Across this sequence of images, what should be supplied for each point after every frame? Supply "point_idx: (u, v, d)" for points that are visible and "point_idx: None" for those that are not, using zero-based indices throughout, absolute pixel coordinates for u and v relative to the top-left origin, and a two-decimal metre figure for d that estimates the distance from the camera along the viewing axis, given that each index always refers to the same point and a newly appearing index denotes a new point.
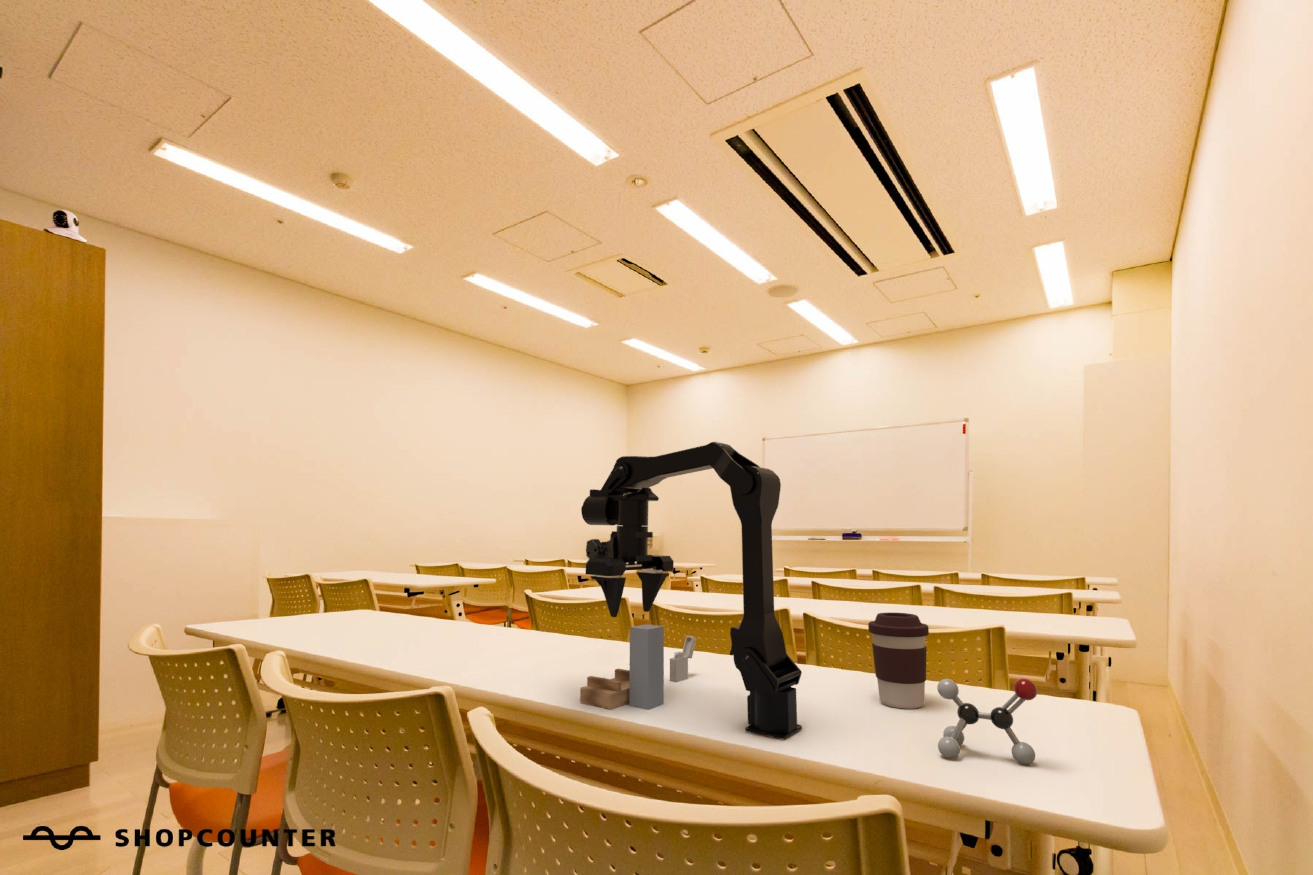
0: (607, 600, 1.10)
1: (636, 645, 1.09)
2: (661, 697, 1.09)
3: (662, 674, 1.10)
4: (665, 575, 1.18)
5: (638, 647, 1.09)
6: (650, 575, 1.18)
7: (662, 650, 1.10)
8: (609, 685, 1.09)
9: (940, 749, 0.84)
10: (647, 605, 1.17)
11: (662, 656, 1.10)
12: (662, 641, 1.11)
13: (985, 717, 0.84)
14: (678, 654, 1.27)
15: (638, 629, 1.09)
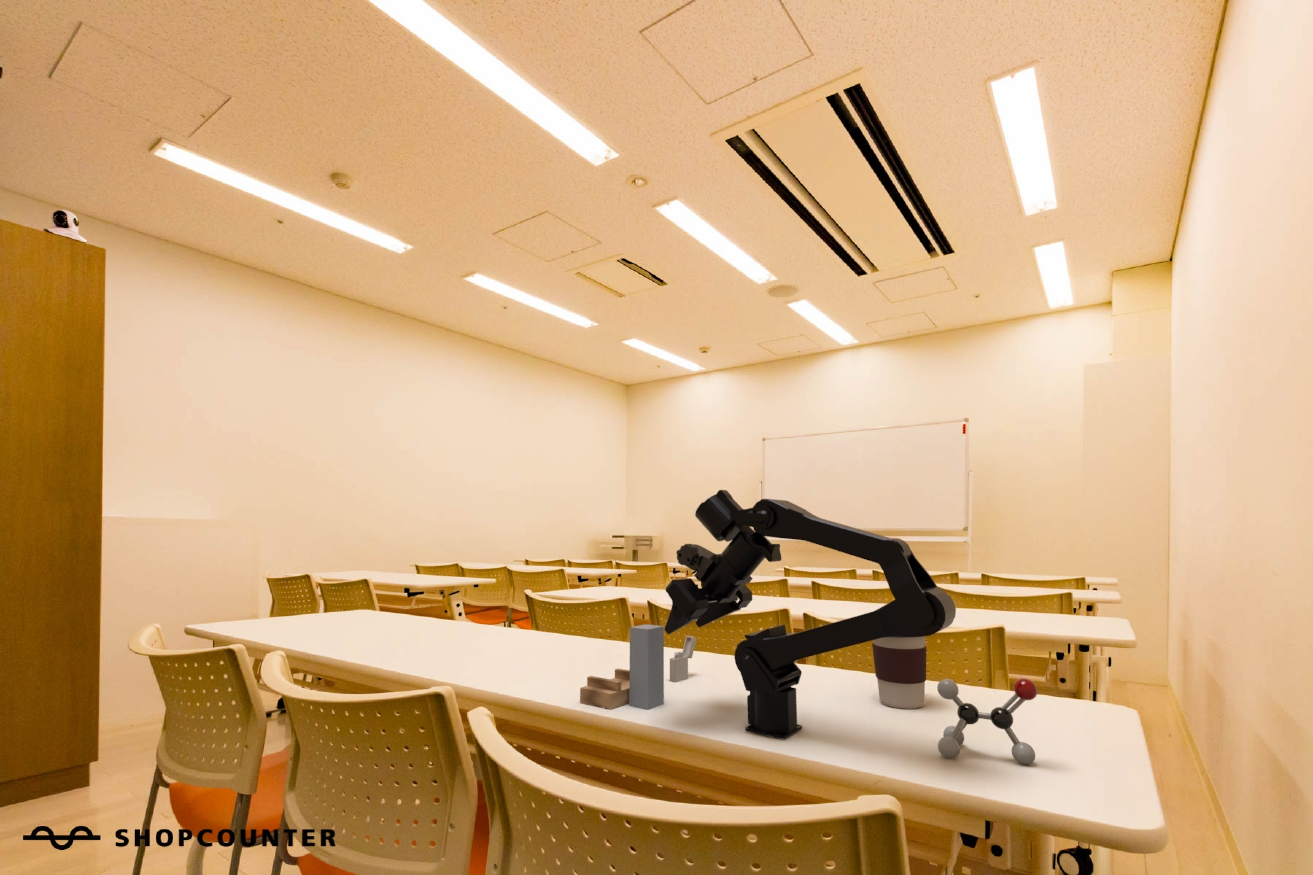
0: (670, 617, 1.01)
1: (636, 645, 1.09)
2: (661, 697, 1.09)
3: (662, 674, 1.10)
4: (736, 610, 1.08)
5: (638, 647, 1.09)
6: None
7: (662, 650, 1.11)
8: (609, 685, 1.09)
9: (940, 749, 0.84)
10: (702, 622, 1.09)
11: (662, 656, 1.10)
12: (662, 641, 1.11)
13: (985, 717, 0.84)
14: (678, 654, 1.27)
15: (638, 629, 1.09)
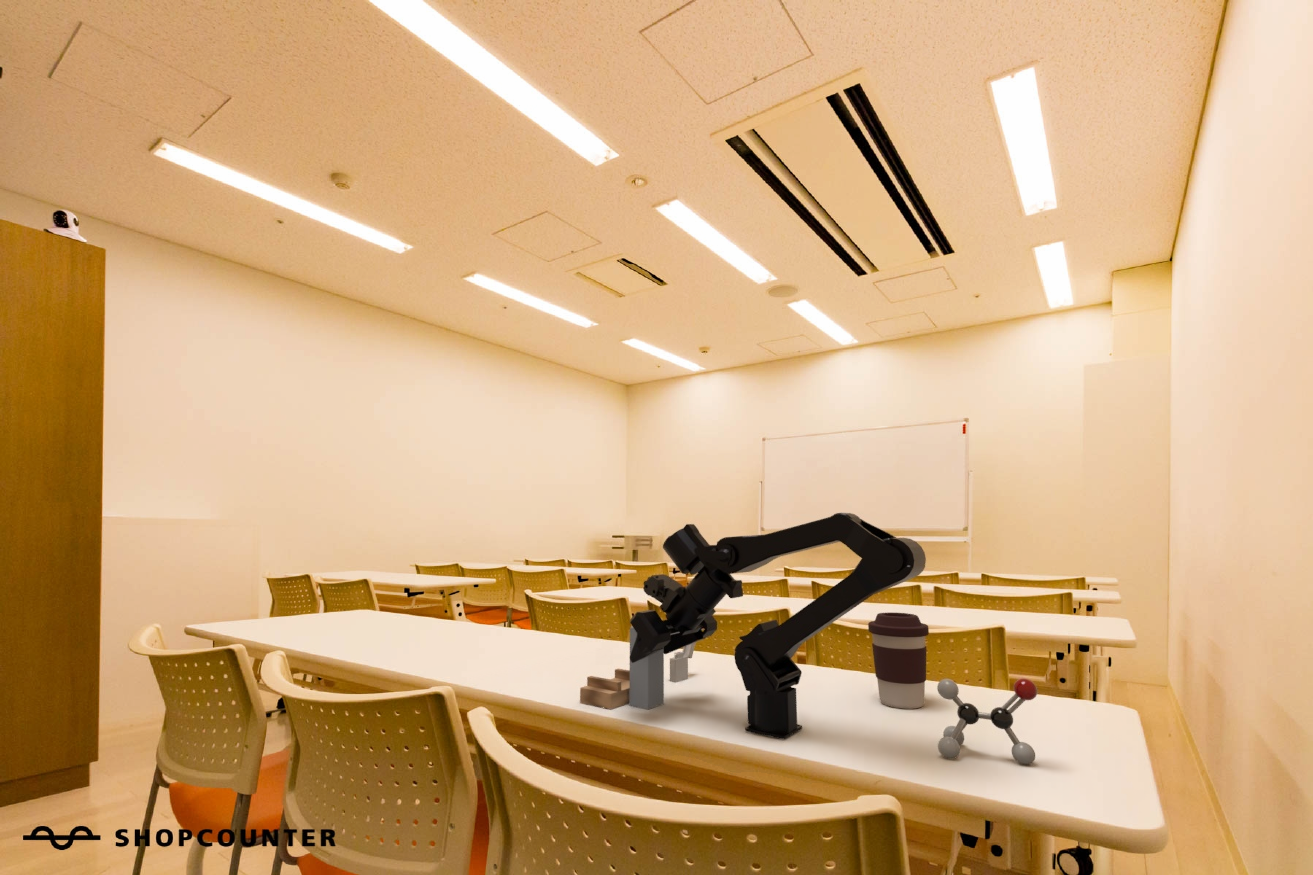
0: (634, 647, 1.05)
1: None
2: (661, 697, 1.09)
3: (662, 674, 1.10)
4: (700, 639, 1.11)
5: None
6: None
7: (662, 650, 1.11)
8: (609, 685, 1.09)
9: (940, 749, 0.84)
10: (668, 649, 1.13)
11: (662, 656, 1.10)
12: None
13: (985, 717, 0.84)
14: (678, 654, 1.27)
15: None
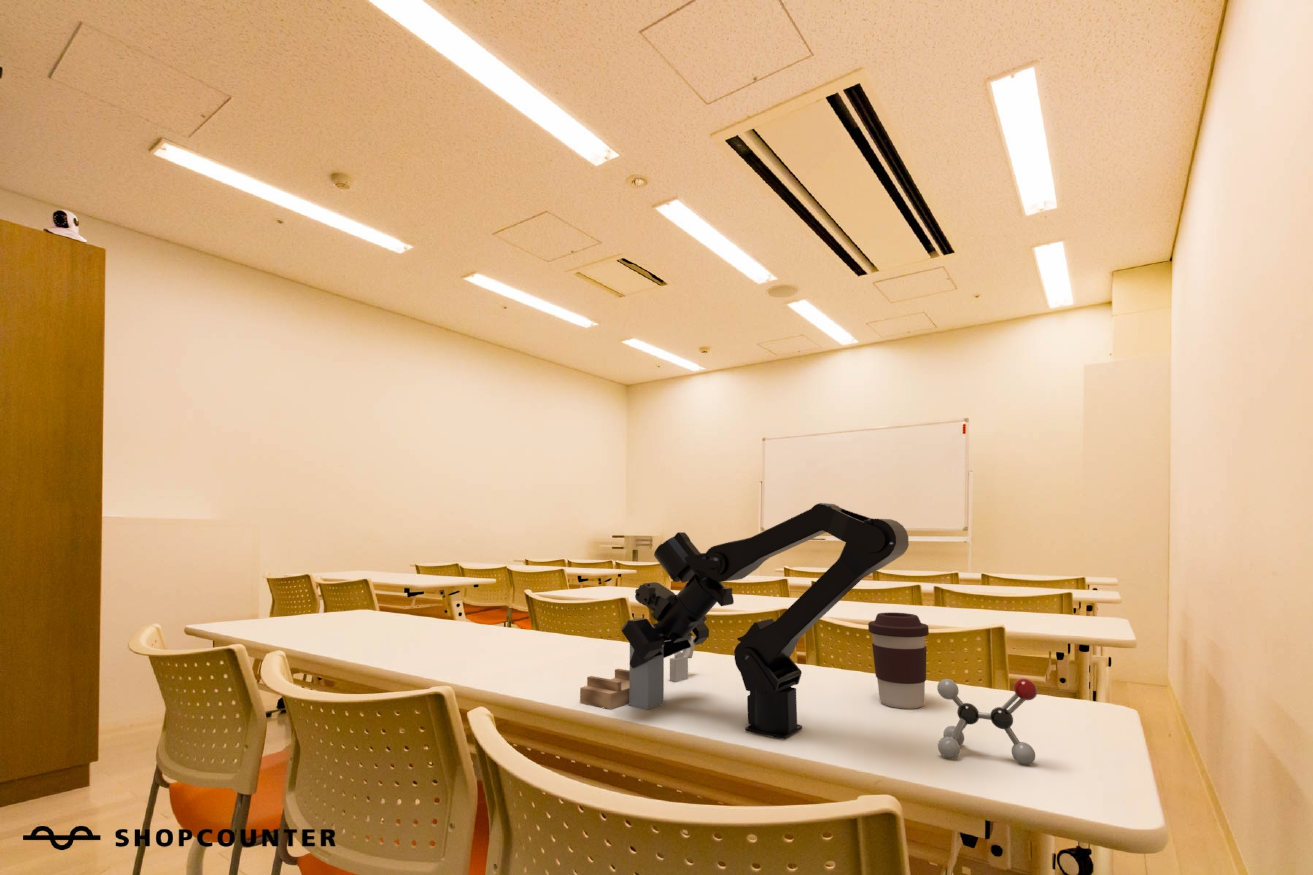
0: (634, 653, 1.07)
1: None
2: (661, 697, 1.09)
3: (662, 674, 1.10)
4: (685, 648, 1.11)
5: None
6: None
7: (662, 650, 1.11)
8: (609, 685, 1.09)
9: (940, 749, 0.84)
10: None
11: (662, 656, 1.10)
12: None
13: (985, 717, 0.84)
14: (678, 654, 1.27)
15: None
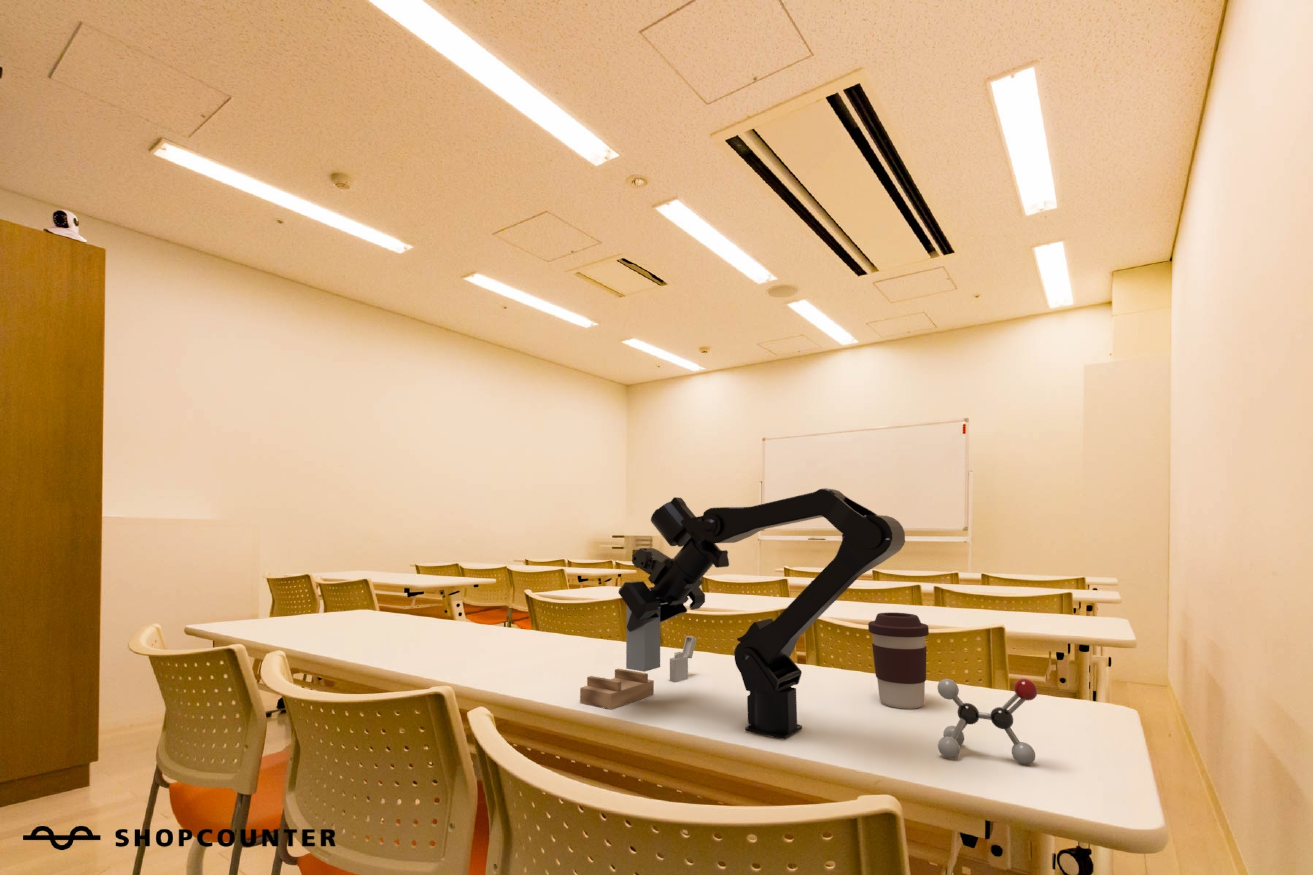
0: (631, 616, 1.09)
1: None
2: (658, 661, 1.11)
3: (659, 638, 1.11)
4: (682, 613, 1.12)
5: None
6: None
7: (658, 615, 1.12)
8: (609, 685, 1.09)
9: (940, 749, 0.84)
10: None
11: (659, 620, 1.12)
12: None
13: (985, 717, 0.84)
14: (678, 654, 1.27)
15: None
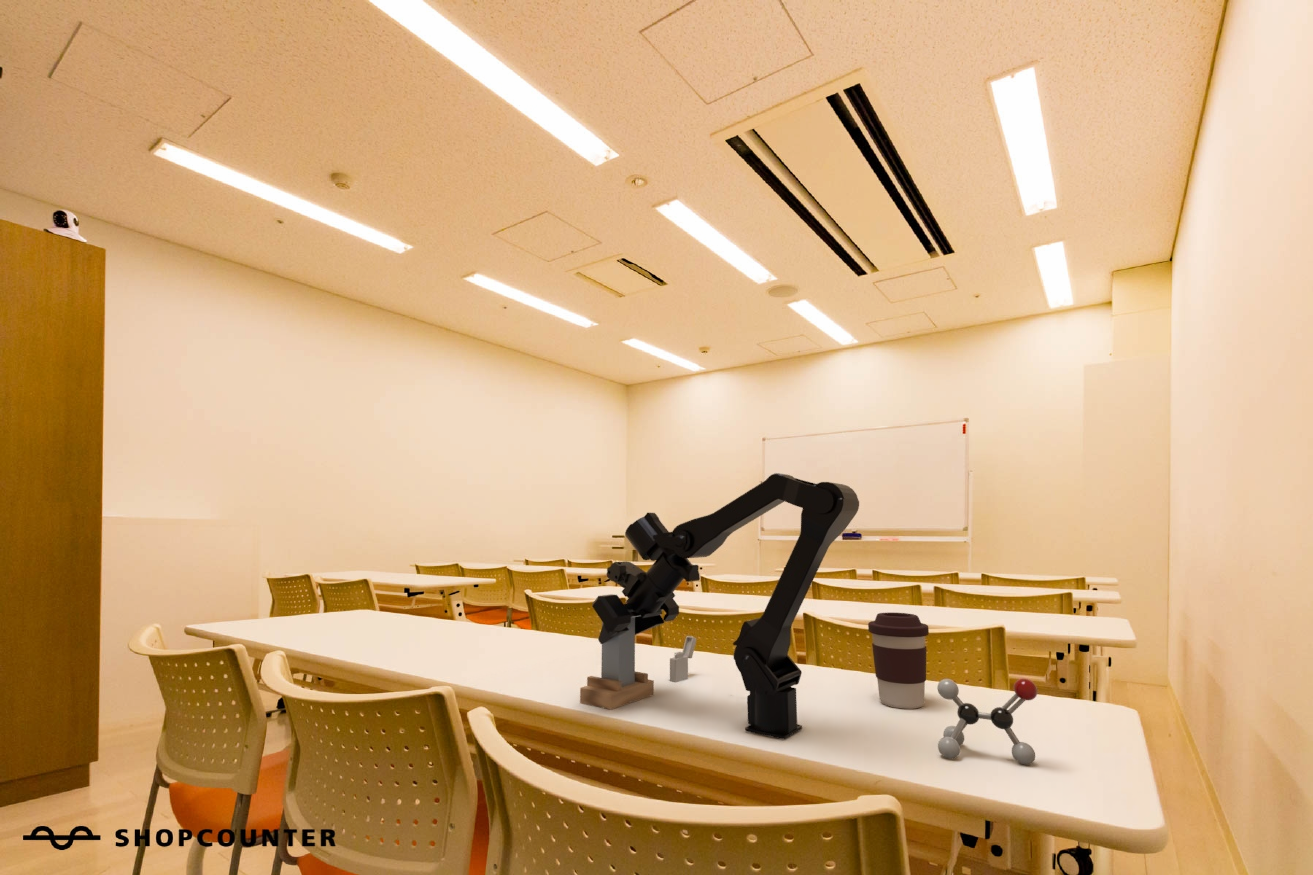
0: (602, 629, 1.11)
1: None
2: (632, 677, 1.13)
3: (633, 655, 1.14)
4: (659, 624, 1.16)
5: None
6: None
7: (633, 632, 1.15)
8: (609, 685, 1.09)
9: (940, 749, 0.84)
10: None
11: (633, 637, 1.15)
12: (633, 623, 1.15)
13: (985, 717, 0.84)
14: (678, 654, 1.27)
15: None
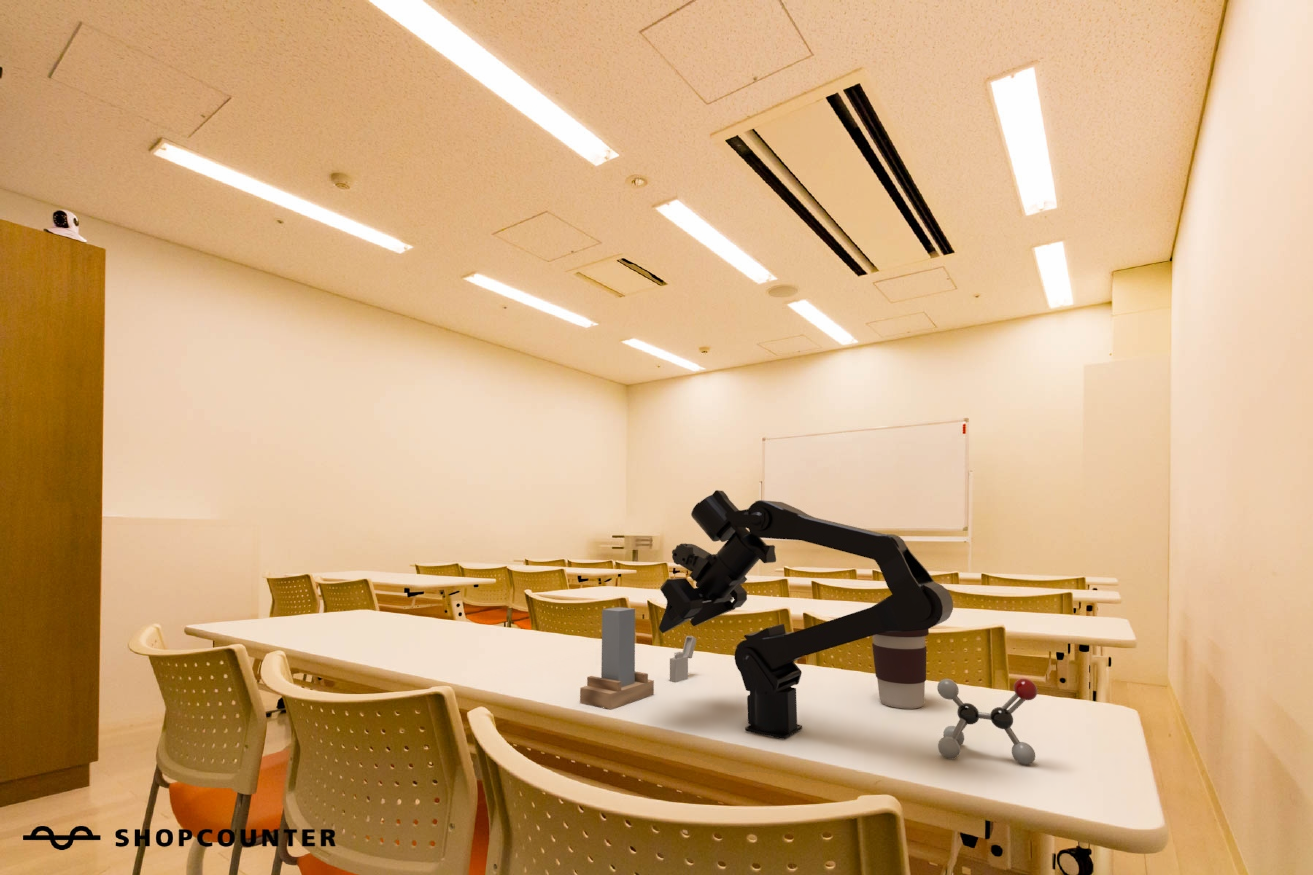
0: (664, 616, 1.02)
1: (608, 627, 1.13)
2: (632, 677, 1.13)
3: (633, 655, 1.14)
4: (730, 610, 1.09)
5: (610, 628, 1.13)
6: None
7: (633, 632, 1.15)
8: (609, 685, 1.09)
9: (940, 749, 0.84)
10: (696, 621, 1.10)
11: (633, 637, 1.15)
12: (633, 623, 1.15)
13: (985, 717, 0.84)
14: (678, 654, 1.27)
15: (610, 611, 1.13)
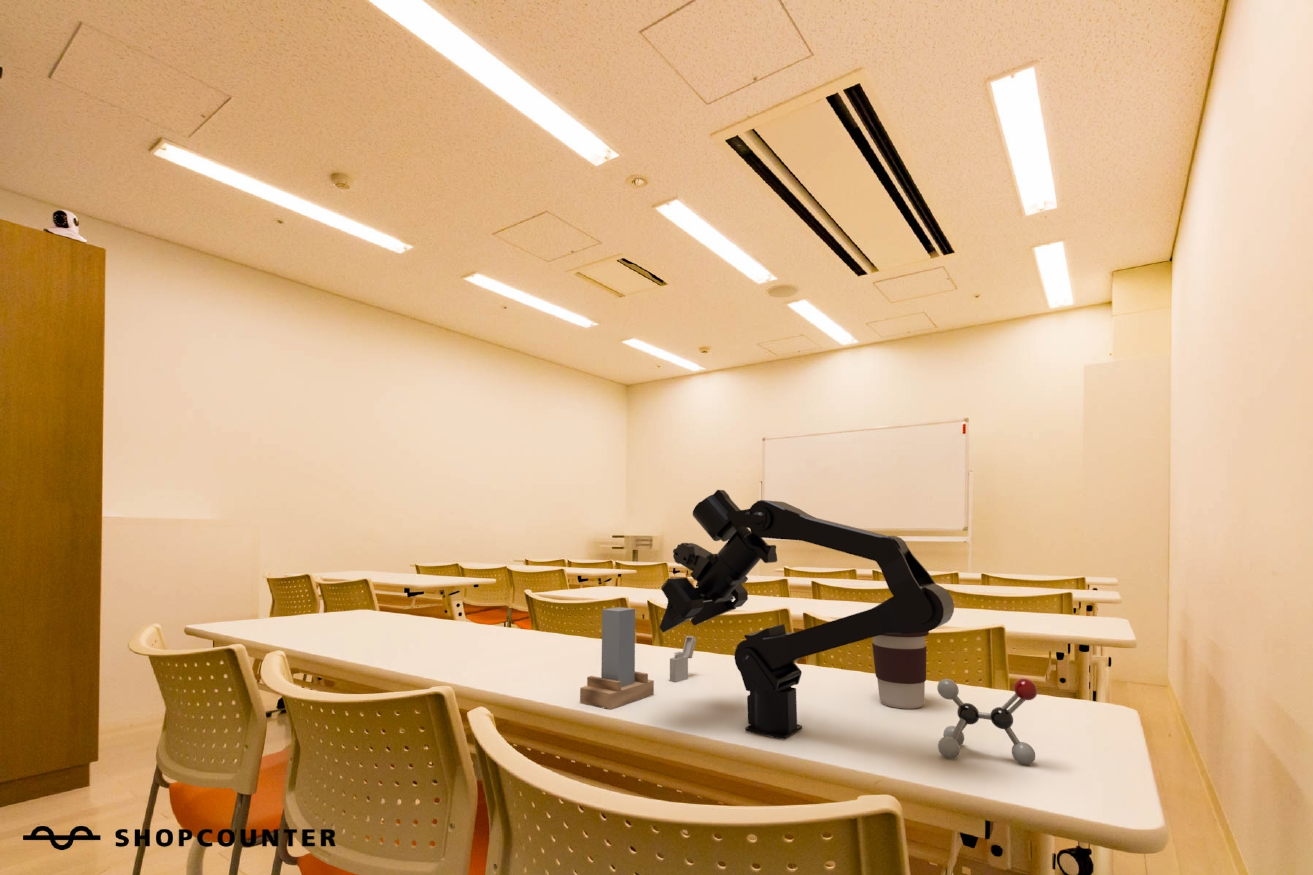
0: (665, 615, 1.02)
1: (608, 627, 1.13)
2: (632, 677, 1.13)
3: (633, 655, 1.14)
4: (731, 609, 1.09)
5: (610, 628, 1.13)
6: None
7: (633, 632, 1.15)
8: (609, 685, 1.09)
9: (940, 749, 0.84)
10: (697, 621, 1.10)
11: (633, 637, 1.15)
12: (633, 623, 1.15)
13: (985, 717, 0.84)
14: (678, 654, 1.27)
15: (610, 611, 1.13)
